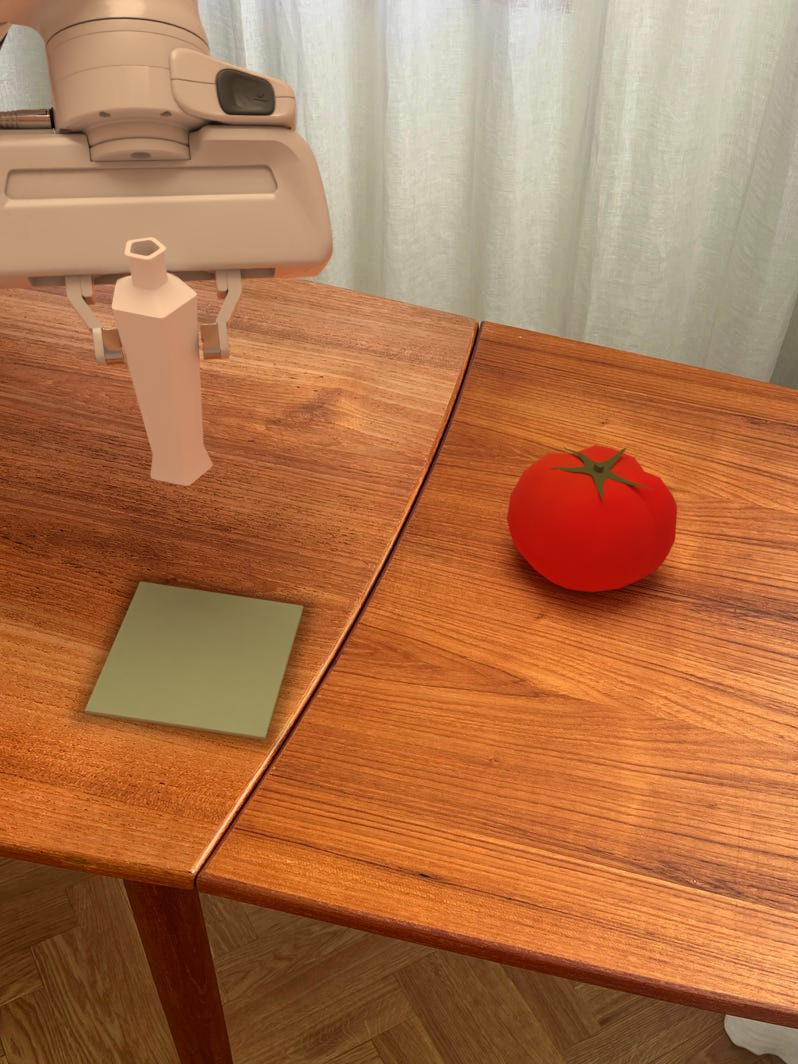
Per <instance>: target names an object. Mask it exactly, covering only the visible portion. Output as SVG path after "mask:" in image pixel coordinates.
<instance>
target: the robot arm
mask: <svg viewBox="0 0 798 1064" xmlns="http://www.w3.org/2000/svg"><path fill="white" fill-rule="evenodd" d="M199 12H200V11H199V0H0V51H1V50H2V48H3V46H4V43H5V40H6V39H7V36H8V34H9V30H10V29H11V28H12V26H13V25H16V26H23V27H27V28H31V29H33V30H34V31H36V32H37V34H39V35H40V37H41V39H42V41H43V44H44V51H45V58H46V66H47V74H48V83H49V90H50V100H51V105H52V106H51V107H50V108H32V109H31V108H30V109H29V108H27V109H26V108H22V109H16V110H3V111H0V290H14V289H15V290H17V289H37V288H38V289H41V288H64V287H65V292H66V299H67V301H68V303H69V304H70V306H71V308H72V309H73V311H74V313H76V315H77V316H78V317H79V319H80V320H81V322H82V323H83V324H84V325H85V327H86V328H87V330H88V331H89V332H90V334H91V335H92V341H93V349H94V357H95V362H96V364H97V366H98V367H103V366H117V365H120V366H121V365H125V353H124V350H123V346H122V343H121V339H120V335H119V332H118V328H117V327H112V328H108V327H107V328H105V327H104V326H103V324H102V323H101V321H100V320H99V318H98V317H97V316H96V314H95V313H94V312H93V310H92V309H91V307H90V306H94V305H96V304H97V297H96V288H95V287H96V286H112V285H113V286H114V285H115V286H116V281H117V279H119V278H123V277H127V276H131V271H130V266H129V260H128V257H127V256H126V255H125V248H126V243H127V242H128V241H130V240H135V239H142V238H149V237H152V238H155V239H157V240H158V241H159V242H160V243H161V244H163V245H164V246H165V247H166V251H165V252H164V257H165V264H166V270H167V272H172V273H173V274H175V275H176V276H177V277H178V278H179V279H181V280H182V281H183V282H184V283H190V282H191V283H192V282H211V281H212V282H214V284H215V291H216V298H217V299H218V300H223V303H222V305H221V307H220V309H219V312H218V313H217V316H216V319H215V321H214V323H213V322H212V323H200V325H199V327H200V339H201V341H200V342H201V343H202V345H201V346H202V356H203V360H204V361H205V360H206V361H207V360H227V359H228V360H229V359H230V343H229V334H228V329H229V327H230V324H231V322H232V320H233V318H234V316H235V313H236V312H237V310H238V307H239V304H240V303H241V300H242V297H243V283H242V280H266V279H268V280H269V279H285V278H286V279H290V278H293V279H294V278H313V277H318V276H319V275H320V274H322V272H323V271H324V269H325V268H326V267H327V266H328V264H329V262H330V261H331V259H332V256H333V252H334V238H333V230H332V223H331V215H330V211H329V206H328V205H329V204H328V200H327V196H326V191H325V187H324V183H323V179H322V175H321V172H320V167H319V165H318V161H317V159H316V156H315V154H314V151H313V150H312V148H311V146H310V144H309V143H308V142H307V141H306V139H304V138H303V136H301V135H300V134H299V133H297V132H296V131H297V124H298V107H297V101H296V96H295V91H294V89H293V88H292V86H291V85H290V84H289V83H287V82H285V81H284V80H281V79H279V78H277V77H273V76H270V75H266V74H263V73H261V72H257V71H254V70H252V69H251V70H250V69H247V68H244V67H241V66H238V65H235V64H233V63H229V62H226V61H224V60H221V59H218V58H216V57H213V56H212V55H211V48H210V47H211V46H210V43H209V40H208V39H209V38H208V37H207V33H206V30H205V29H204V26H203V23H202V20H201V17H200V16H201V15H200V13H199Z"/></svg>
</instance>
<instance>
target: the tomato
mask: <svg viewBox="0 0 798 1064" xmlns="http://www.w3.org/2000/svg"><path fill="white" fill-rule="evenodd" d="M562 447H563V448H564V450H566V451H569V453H568V452H566V453H565V452H562V453H561V452H556V453H547V454H545V455H544V456H542V457H541V458H540V459H538V460H537V461H536V462H533V464H531V465H530V466H528V467H527V468H526V469H525V470H524V471H523V472H522V474H521V475H520V478H519V479H518V481H517V482H516V484H515V486H514V488H513V490H512V491H511V493H510V496H509V497H510V498H509V502H508V508H507V514H506V515H507V516H506V521H507V526H508V530H509V533H510V536H511V539H512V541H513V545H514V547H515V549H516V550H517V551H518V552H519V553H520V554H521V556H522V557H523V559H525V561H526V562H527V563H528V564H529V565H530V566H531V568H533V570H534V571H535V572H537V573H538V574H539V575H541V576H542V577H544V578H545V579H546V580H548V581H549V582H550V583H552V584H555V585H557V586H559V587H562V588H564V589H567V590H568V591H569V590H570V591H578V592H587V593H596V592H605V591H612V590H620V589H622V588H624V587H626V586H630V585H631V584H633V583H635V582H638V581H640V580H642V579H644V578H646V577H647V576H649V575H650V574H652V573H654V572H656V570H657V569H658V568H659V567H660V566H662V564H664V562H665V560H666V559H667V557H668V555H669V554H670V552H671V549H672V548H673V545H674V543H675V542H676V533H677V532H676V531H677V520H678V519H677V518H678V517H677V516H678V505H677V502H676V498H675V497H674V495H673V493H672V492H671V490H670V489H669V488H668V485H666V483H665V482H664V481H663V479H662V478H661V477H660V476H658V475H655V474H653V473H650V472H647V471H645V470H644V468H643V467H642V466H641V464H640V463H639V461H638V459H636V458H635V456H631V455H630V454H627V453H625V451H626V450H627V446H625V448H622V449H621V450H617V449H615V448H612V447H607V446H603V445H598V444H597V445H596V444H595V445H591V446H589V447H586V448H584V449H580V450H578V451H576V450H573V449H570V448H567V447H565V446H564V445H562Z"/></svg>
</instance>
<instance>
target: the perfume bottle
mask: <svg viewBox="0 0 798 1064" xmlns="http://www.w3.org/2000/svg"><path fill="white" fill-rule="evenodd" d="M165 251H166V247H165V246H164V245H163V244H161V243H160V242H159V241H158V240H157V239H155V238H152V237H149V238H142V239H135V240H130V241H128V242H127V243H126V248H125V255H126V256H127V257H128V260H129V266H130V271H131V276H127V277H123V278H119V279H117V281H116V285H115V286H114V292H113V297H112V302H111V310H112V313H113V317H114V321H115V324H116V328H118V332H119V335H120V339H121V343H122V351H123V353H124V358H125V360H126V364H127V367H128V372H129V375H130V379H131V381H132V386H133V389H134V393H135V397H136V399H137V404H138V407H139V411H140V414H141V417H142V422H143V425H144V429H145V432H146V436H147V439H148V443H149V446H150V450H151V455H152V457H151V466H150V478H151V479H152V480H156V481H160V482H165V483H170V484H175V485H179V486H184V487H187V486H188V487H189V486H191V485H192V484H193V483H194V482H195V481H197V480H198V479H199V478H200V477H202V476H203V475H204V474H205V473H206V472H208V471H209V470H210V469H211V468H212V467H213V466H214V464H213V461H212V459H211V458H210V455H209V453H208V451H207V449H206V447H205V444H204V424H203V403H202V401H203V400H202V381H201V380H202V379H201V378H202V377H201V361H200V359H201V358H200V337H199V316H198V315H199V314H198V295H197V292H196V291H195V290H194V289H193V288H191V287H190V286H189V285H188V284H186V282H183V281H182V280H181V279H179V278H178V277H177V276H176V275H175V274H173V273H172V272H167V270H166V264H165V257H164V252H165Z"/></svg>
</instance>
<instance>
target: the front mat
mask: <svg viewBox="0 0 798 1064" xmlns="http://www.w3.org/2000/svg"><path fill="white" fill-rule="evenodd" d="M304 609H305V608H304V605H301V604H295V603H287V602H281V601H275V600H270V599H269V600H268V599H261V598H254V597H248V596H241V595H236V594H235V595H234V594H227V593H221V592H214V591H208V590H202V589H194V588H187V587H181V586H174V585H169V584H168V585H167V584H160V583H153V582H147V581H139V583H138V585H137V588H136V589H135V593H134V595H133V597H132V599H131V601H130V603H129V606H128V609H127V611H126V614H125V616H124V618H123V620H122V623H121V625H120V627H119V629H118V632H117V634H116V636H115V638H114V641H113V644H112V646H111V647H110V648H111V649H110V651H109V652H108V655H107V657H106V659H105V663H104V665H103V667H102V669H101V671H100V674H99V676H98V678H97V681H96V683H95V685H94V688H93V690H92V692H91V695H90V697H89V699H88V701H87V704H86V706H85V709H84V713H85V714H87V715H93V716H100V717H106V718H111V719H112V718H113V719H121V720H126V721H133V722H139V723H146V724H154V725H159V726H160V725H161V726H166V727H174V728H179V729H186V730H192V731H193V730H194V731H200V732H207V733H213V734H221V735H227V736H233V737H239V738H240V737H241V738H246V739H253V740H254V739H255V740H261V741H266V740H267V736H268V734H269V731H270V730H269V729H270V726H271V722H272V719H273V717H274V713H275V710H276V706H277V702H278V699H279V695H280V692H281V688H282V685H283V681H284V678H285V674H286V671H287V668H288V664H289V661H290V657H291V654H292V650H293V647H294V644H295V641H296V637H297V633H298V630H299V626H300V623H301V620H302V615H303V613H304Z"/></svg>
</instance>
